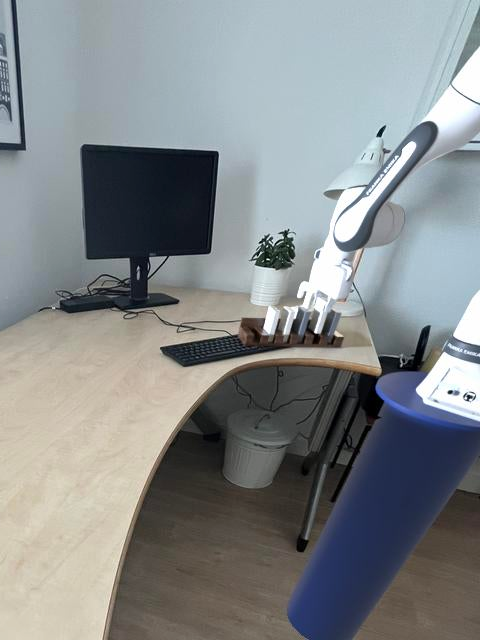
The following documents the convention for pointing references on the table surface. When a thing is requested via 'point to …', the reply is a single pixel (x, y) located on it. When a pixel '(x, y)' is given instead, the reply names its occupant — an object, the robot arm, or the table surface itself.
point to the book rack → (257, 336)
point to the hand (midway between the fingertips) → (321, 308)
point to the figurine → (308, 299)
